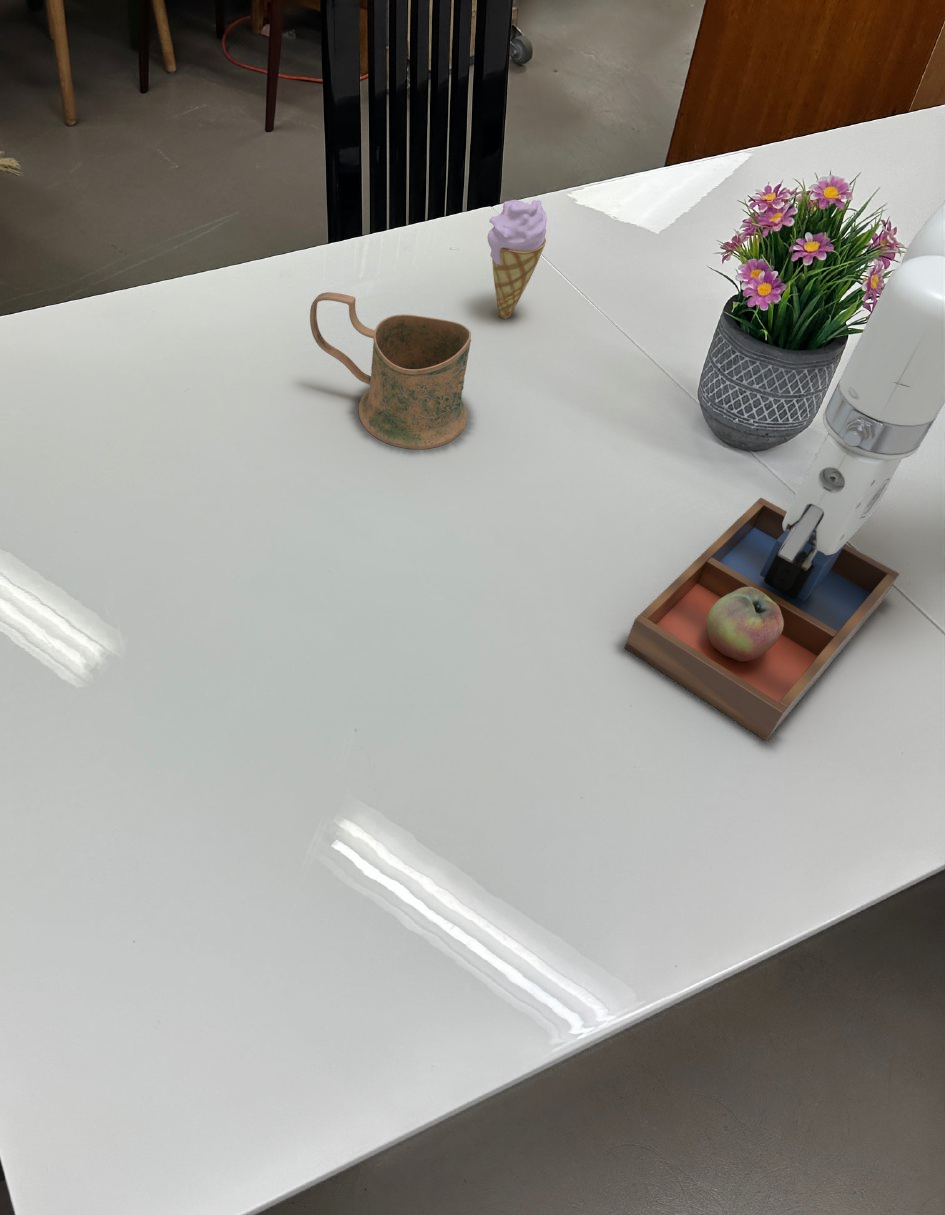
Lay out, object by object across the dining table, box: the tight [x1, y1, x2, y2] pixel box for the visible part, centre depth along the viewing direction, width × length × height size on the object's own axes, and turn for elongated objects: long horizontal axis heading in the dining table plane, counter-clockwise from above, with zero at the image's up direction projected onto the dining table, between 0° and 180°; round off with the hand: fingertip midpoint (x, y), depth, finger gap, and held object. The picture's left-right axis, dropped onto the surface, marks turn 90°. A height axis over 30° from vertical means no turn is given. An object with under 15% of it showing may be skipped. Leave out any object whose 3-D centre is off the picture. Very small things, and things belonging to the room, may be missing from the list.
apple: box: [707, 587, 784, 662], centre depth 92 cm, size 6×8×6 cm
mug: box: [309, 291, 472, 450], centre depth 112 cm, size 12×18×12 cm, turn 70°
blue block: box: [760, 530, 846, 601], centre depth 97 cm, size 4×4×4 cm
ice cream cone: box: [487, 199, 548, 320], centre depth 123 cm, size 7×6×15 cm
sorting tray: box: [623, 497, 900, 742], centre depth 96 cm, size 22×14×4 cm, turn 137°
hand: (794, 572), depth 98 cm, fingers closed on blue block, 4 cm apart
